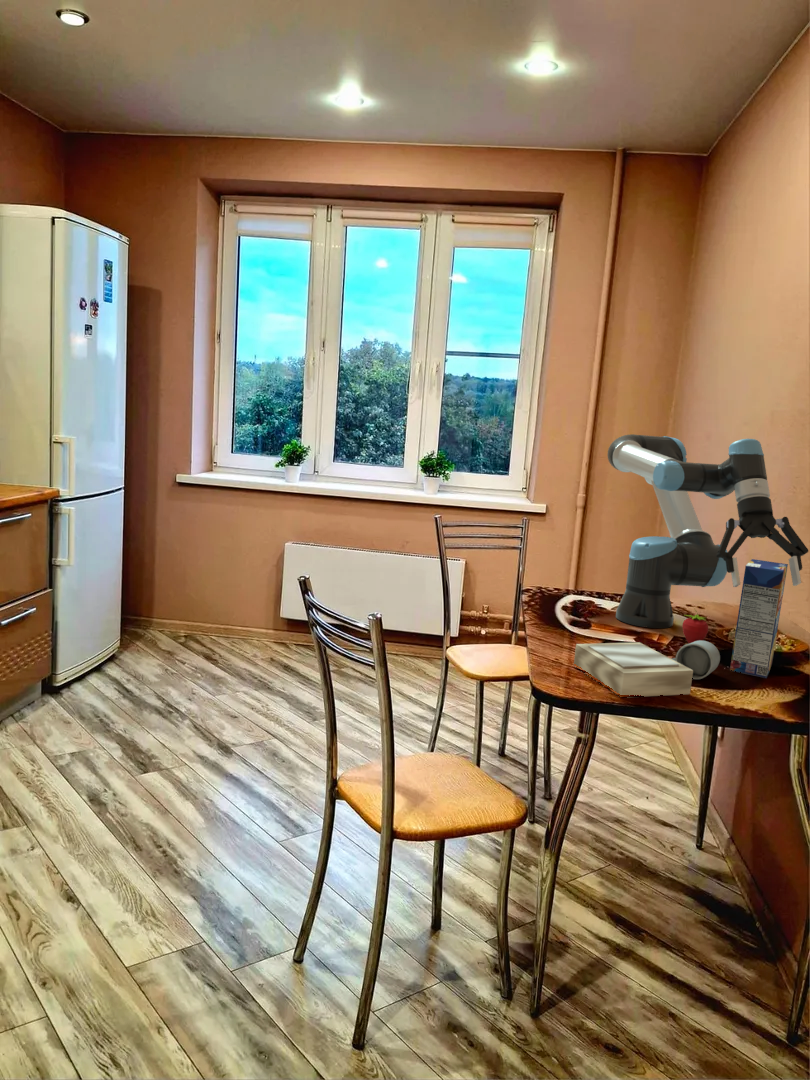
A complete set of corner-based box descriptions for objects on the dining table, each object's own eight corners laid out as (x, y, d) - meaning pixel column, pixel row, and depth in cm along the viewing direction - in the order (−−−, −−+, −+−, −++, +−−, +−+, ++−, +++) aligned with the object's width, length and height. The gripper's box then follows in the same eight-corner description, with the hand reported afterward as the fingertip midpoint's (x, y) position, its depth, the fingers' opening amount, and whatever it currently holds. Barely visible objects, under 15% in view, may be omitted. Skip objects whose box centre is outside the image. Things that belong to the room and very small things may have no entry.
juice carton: (737, 657, 172) (752, 558, 168) (771, 664, 168) (787, 564, 164) (729, 670, 162) (745, 565, 158) (766, 678, 158) (783, 571, 154)
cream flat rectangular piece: (573, 666, 157) (576, 642, 156) (636, 663, 161) (639, 640, 161) (620, 697, 140) (624, 671, 139) (689, 694, 144) (693, 668, 144)
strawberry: (681, 651, 173) (687, 611, 172) (677, 642, 181) (682, 604, 179) (707, 654, 172) (713, 614, 170) (702, 646, 179) (708, 607, 178)
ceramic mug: (719, 674, 158) (724, 640, 157) (709, 683, 152) (714, 648, 150) (670, 663, 164) (674, 630, 163) (659, 671, 158) (663, 637, 157)
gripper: (705, 496, 173) (717, 582, 166) (813, 492, 171) (830, 579, 164) (696, 507, 180) (707, 590, 174) (800, 504, 178) (815, 587, 171)
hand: (766, 585), depth 169 cm, fingers open, 13 cm apart
